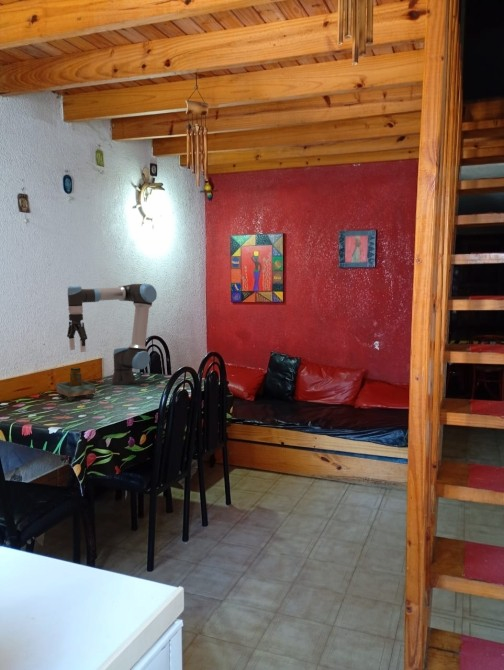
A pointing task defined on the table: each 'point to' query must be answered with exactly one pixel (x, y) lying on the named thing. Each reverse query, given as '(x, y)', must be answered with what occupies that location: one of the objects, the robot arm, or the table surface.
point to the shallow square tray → (75, 390)
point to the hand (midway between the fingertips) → (77, 350)
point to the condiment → (75, 377)
